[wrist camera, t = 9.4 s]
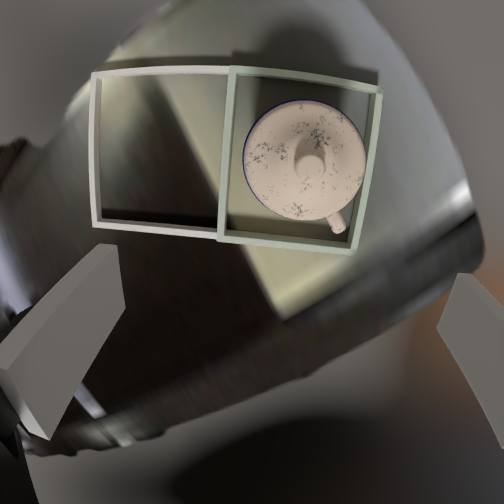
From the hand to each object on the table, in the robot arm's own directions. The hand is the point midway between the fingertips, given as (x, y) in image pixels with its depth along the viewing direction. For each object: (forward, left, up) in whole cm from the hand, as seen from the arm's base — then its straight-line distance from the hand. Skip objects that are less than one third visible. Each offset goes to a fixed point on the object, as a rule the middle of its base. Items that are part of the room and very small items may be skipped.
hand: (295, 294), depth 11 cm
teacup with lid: (+2, +2, -22) cm, 22 cm away
